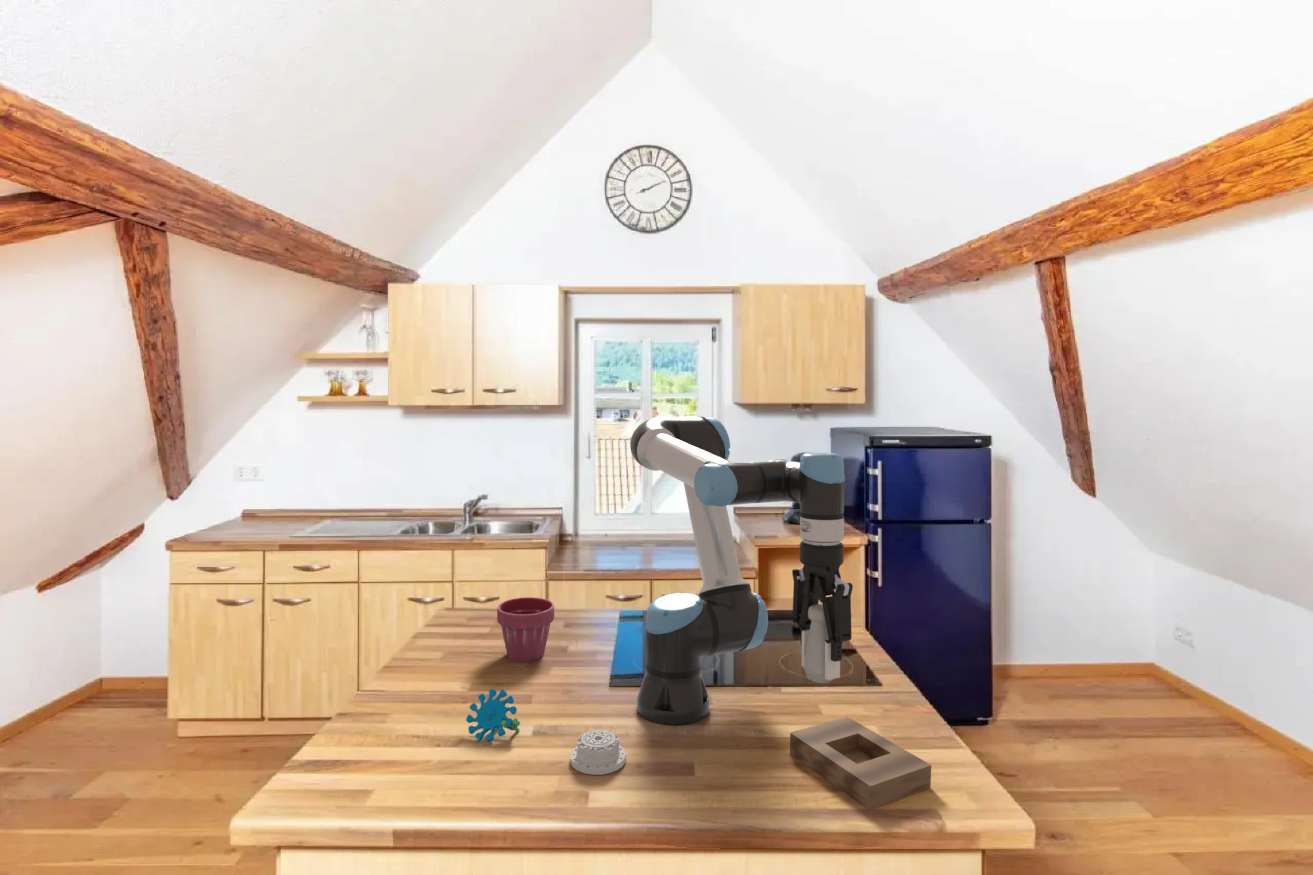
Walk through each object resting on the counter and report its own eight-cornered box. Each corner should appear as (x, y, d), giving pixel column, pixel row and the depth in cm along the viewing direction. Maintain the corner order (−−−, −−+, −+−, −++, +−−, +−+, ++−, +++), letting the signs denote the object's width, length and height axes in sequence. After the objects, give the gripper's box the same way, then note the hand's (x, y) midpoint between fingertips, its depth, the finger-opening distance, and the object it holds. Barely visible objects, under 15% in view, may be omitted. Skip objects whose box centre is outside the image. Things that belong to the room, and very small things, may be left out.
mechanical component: (613, 781, 122) (633, 753, 131) (613, 756, 122) (634, 730, 131) (560, 770, 125) (584, 744, 135) (560, 746, 125) (584, 721, 134)
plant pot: (549, 666, 171) (549, 614, 170) (491, 665, 171) (490, 613, 171) (558, 645, 186) (558, 597, 185) (504, 644, 186) (504, 596, 185)
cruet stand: (789, 753, 131) (790, 732, 131) (846, 736, 138) (847, 716, 138) (869, 810, 114) (870, 786, 113) (930, 787, 120) (931, 765, 120)
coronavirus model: (455, 728, 136) (483, 680, 142) (467, 739, 141) (494, 692, 146) (500, 749, 132) (528, 698, 137) (512, 759, 136) (538, 710, 141)
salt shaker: (836, 687, 122) (837, 612, 121) (802, 683, 123) (803, 609, 123) (836, 674, 127) (837, 602, 127) (803, 671, 129) (804, 600, 128)
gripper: (772, 534, 131) (771, 658, 132) (840, 553, 114) (839, 694, 115) (805, 531, 134) (804, 652, 135) (876, 548, 117) (874, 686, 118)
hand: (820, 671), depth 125 cm, fingers closed on salt shaker, 6 cm apart
